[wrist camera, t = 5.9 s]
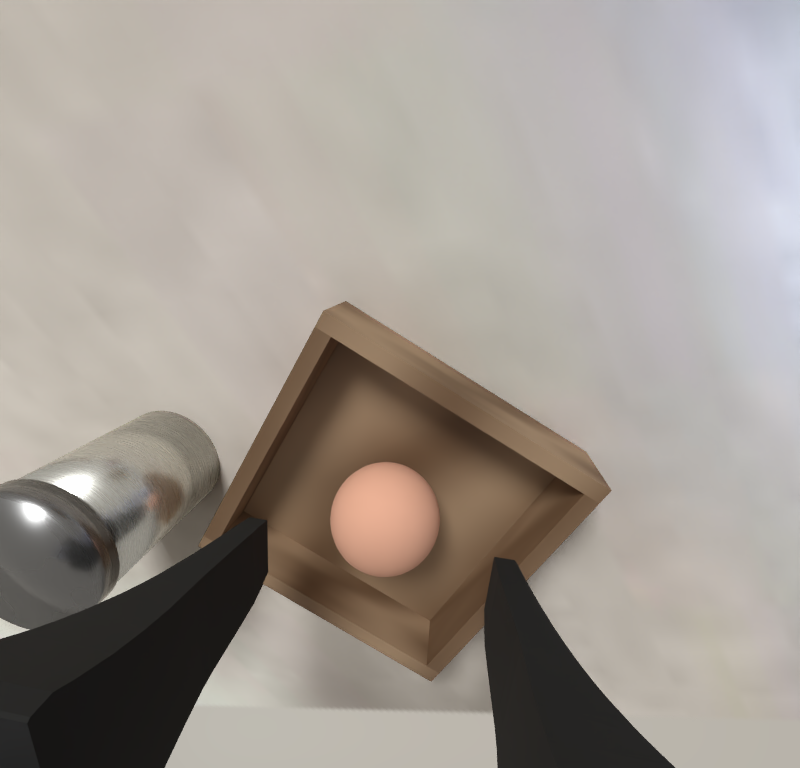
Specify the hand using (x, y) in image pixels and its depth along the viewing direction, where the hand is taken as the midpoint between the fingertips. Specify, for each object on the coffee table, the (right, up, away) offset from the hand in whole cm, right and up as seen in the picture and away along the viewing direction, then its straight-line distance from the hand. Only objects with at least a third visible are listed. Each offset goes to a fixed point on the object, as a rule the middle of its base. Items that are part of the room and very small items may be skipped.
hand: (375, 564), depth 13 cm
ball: (0, +1, +2) cm, 3 cm away
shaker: (-10, +2, +6) cm, 12 cm away
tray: (+1, +1, +5) cm, 5 cm away
